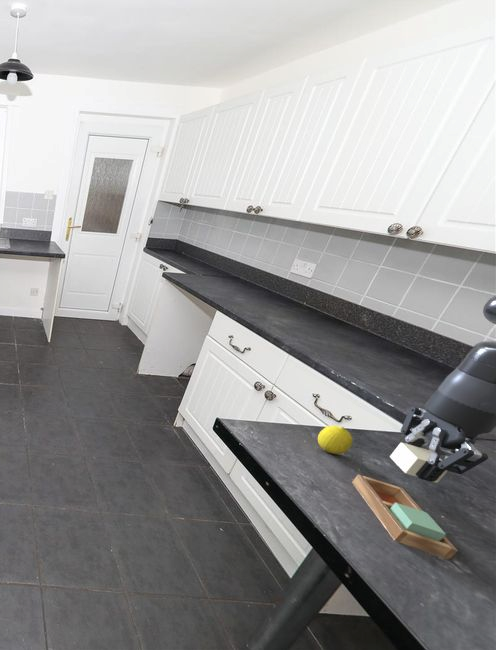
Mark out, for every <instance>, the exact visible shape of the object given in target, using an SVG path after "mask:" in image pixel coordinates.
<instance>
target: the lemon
mask: <svg viewBox="0 0 496 650" xmlns="http://www.w3.org/2000/svg"><path fill="white" fill-rule="evenodd" d="M353 441H354V440H353V436H352V434H351V432H350V431H348V430H347V429H346V428H345V427H344V426H339V425H328V426H326V427H324V428H322V430H320V431H319V433H318V435H317V442H318V445H319V447H321V449H322V450H323V451H325V452H326V453H329V454H333V455H342V454H344V453H347V452H348V451H349V450H350V449H351V447H352V446H353Z"/></svg>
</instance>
